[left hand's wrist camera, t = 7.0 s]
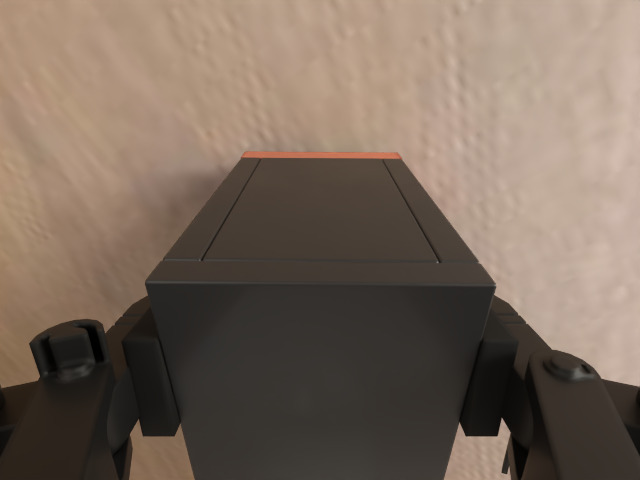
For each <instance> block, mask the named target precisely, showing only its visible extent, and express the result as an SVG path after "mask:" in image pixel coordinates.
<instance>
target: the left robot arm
mask: <svg viewBox="0 0 640 480" xmlns="http://www.w3.org/2000/svg"><path fill="white" fill-rule="evenodd" d="M29 345H30V348H31V350H32V353H33V356H34V359H35V362H36V365H37V368H38V371H39V374H40V378H39V380H38V381H35V382H30V383H25V384H21V385H16V386H11V387H6V388H1V385H0V480H129V475H130V467H131V459H132V450H133V448H132V442H131V438H130V433H131V431H132V429H133V428H134V426H135V424H136V422H137V421H138V419H139V421H140V426H141V430H142V434H143V436H175V434H176V432H177V429H178V427H179V425H180V419H179V415H178V411H177V407H176V403H175V399H174V396H173V392H172V388H171V384H170V380H169V376H168V372H167V368H166V364H165V360H164V356H163V352H162V348H161V344H160V340H159V337H158V333H157V329H156V325H155V321H154V317H153V313H152V309H151V305H150V301H149V297H148V296H146V297H144V298H143V299H141V300H139V301H138V302H136V303H134V304H133V305H131V307H130V308H129V309H128V310H127V311H126V312H125V313H124V314H123V317H120V318H119V319H118V320H117V322H116V323H115V325H113V326H112V327H111V328H110V329H109V330H108V331H107V332H106V333H105V332H104V328H103V324H102V323H100V322H99V321H97V320H91V319H81V320H73V321H69V322H65V323H61V324H59V325H56V326H54V327H51V328H49V329H47V330H45V331H44V332H42V333H40V334H39V335H37V336H36V337H35V338H34V339H33V340H32V341H31V342H30V343H29ZM502 418H503V420H504V422H505V423H506V425H507V427H508V428H509V430H510V432H511V433H510V438H509V442H508V446H507V450H506V454H505V458H504V462H503V467H502V473H504V474H507V472H508V468H509V466H510V474H511V480H640V387H638V386H633V385H628V384H623V383H618V382H613V381H608V380H604V379H601V377H600V375H599V374H598V373H597V372H596V370H595V369H594V368H593V367H592V366H590V365H589V364H588V363H586V362H585V361H583V360H582V359H579V358H577V357H575V356H573V355H571V354H568V353H565V352H561V351H558V350H552V349H551V348H550V347H549V346H548V345H547V344H546V343H545V342H544V341H543V340H542V339H541V337H540V336H539V335H538V334H537V333H536V332H535V331H534V330H533V329H532V328H531V327H530V326H529V325H528V324H526V322H525V320H524V319H523V318H522V317H521V316H518V313H517V312H516V311H515V310H514V309H513V308H512V307H511V306H510V305H509V303H507V302H505V301H503V300H502V299H500V298H498V297H497V296H495V295H494V297H493V300H492V304H491V308H490V311H489V315H488V319H487V322H486V326H485V330H484V333H483V337H482V341H481V344H480V348H479V352H478V355H477V359H476V363H475V366H474V370H473V374H472V377H471V381H470V385H469V388H468V392H467V396H466V399H465V403H464V407H463V410H462V414H461V418H460V421H459V422H460V424H461V426H462V428H463V431H464V433H465V435H466V436H498V432H499V427H500V423H501V419H502Z"/></svg>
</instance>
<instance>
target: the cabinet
mask: <svg viewBox="0 0 640 480" xmlns="http://www.w3.org/2000/svg"><path fill="white" fill-rule="evenodd" d="M145 285H146V289H147V293H148V297H149V301H150V305H151V309H152V313H153V317H154V321H155V325H156V329H157V333H158V337H159V340H160V344H161V348H162V352H163V356H164V360H165V364H166V368H167V372H168V376H169V380H170V384H171V388H172V392H173V396H174V399H175V403H176V407H177V411H178V415H179V419H180V423H181V427H182V431H183V435H184V439H185V443H186V447H187V451H188V455H189V459H190V462H191V466H192V470H193V474H194V478H195V480H444V476H445V473H446V469H447V465H448V462H449V458H450V454H451V451H452V447H453V443H454V440H455V436H456V432H457V429H458V425H459V421H460V418H461V414H462V410H463V407H464V403H465V399H466V396H467V392H468V388H469V385H470V381H471V377H472V374H473V370H474V366H475V363H476V359H477V355H478V352H479V348H480V344H481V341H482V337H483V333H484V330H485V326H486V322H487V319H488V315H489V311H490V308H491V304H492V300H493V297H494V293H495V289H496V283H495V282H494V281H493V279H492V278H491V277H490V275H489V274H488V273H487V271H486V270H485V269H484V267H483V266H482V265H481V264H479V261H478V259H477V258H476V257H475V255H474V254H473V253H472V251H471V250H470V249H469V248H468V246H467V245H466V244H465V242H464V241H463V240H462V238H461V237H460V236H459V234H458V233H457V232H456V230H455V229H454V228H453V226H452V225H451V224H450V222H449V221H448V220H447V219H446V217H445V216H444V215H443V213H442V212H441V211H440V209H439V208H438V207H437V205H436V204H435V203H434V201H433V200H432V199H431V197H430V196H429V195H428V193H427V192H426V191H425V189H424V188H423V187H422V186H421V184H420V183H419V182H418V180H417V179H416V178H415V176H414V175H413V174H412V172H411V171H410V170H409V168H408V167H407V166H406V164H405V163H404V162H403V160H402V158H401V156H400V155H399V154H398V153H355V152H245V153H244V154H243V155H242V156H241V160H240V161H239V162H238V163H237V165H236V166H235V167H234V168H233V170H232V171H231V172H230V174H229V175H228V176H227V177H226V179H225V180H224V181H223V183H222V184H221V185H220V186H219V188H218V189H217V190H216V192H215V193H214V194H213V195H212V197H211V198H210V199H209V201H208V202H207V203H206V204H205V206H204V207H203V208H202V210H201V211H200V212H199V213H198V215H197V216H196V217H195V219H194V220H193V221H192V222H191V224H190V225H189V226H188V227H187V229H186V230H185V231H184V233H183V234H182V235H181V236H180V238H179V239H178V240H177V242H176V243H175V244H174V245H173V247H172V248H171V249H170V251H169V252H168V253H167V254H166V256H165V257H164V258H163V261H161V262H160V263H159V264H158V265H157V267H156V268H155V269H154V270H153V272H152V273H151V274H150V276H149V277H148V278H147V279H146V281H145Z"/></svg>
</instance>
